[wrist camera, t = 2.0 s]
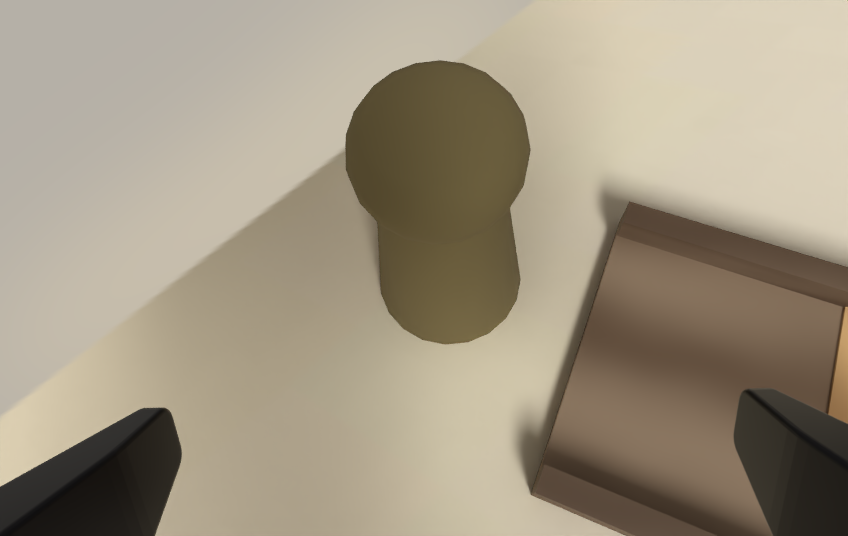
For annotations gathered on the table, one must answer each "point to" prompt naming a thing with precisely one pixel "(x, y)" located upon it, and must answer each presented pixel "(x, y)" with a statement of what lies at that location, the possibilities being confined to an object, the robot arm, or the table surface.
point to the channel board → (689, 375)
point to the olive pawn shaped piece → (441, 195)
